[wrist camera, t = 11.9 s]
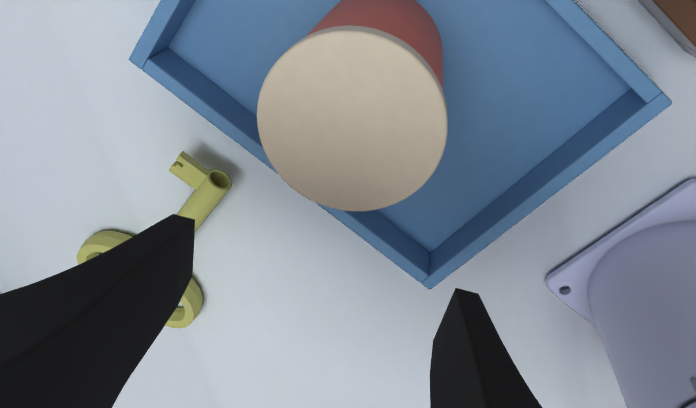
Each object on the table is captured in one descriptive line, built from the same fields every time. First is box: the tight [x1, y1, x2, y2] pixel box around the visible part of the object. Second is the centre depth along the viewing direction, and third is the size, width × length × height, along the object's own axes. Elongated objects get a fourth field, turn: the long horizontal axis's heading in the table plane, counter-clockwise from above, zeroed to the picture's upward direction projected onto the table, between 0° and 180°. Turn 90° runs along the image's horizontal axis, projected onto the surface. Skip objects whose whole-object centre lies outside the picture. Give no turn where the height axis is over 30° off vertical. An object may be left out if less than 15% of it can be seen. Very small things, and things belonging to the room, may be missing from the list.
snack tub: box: [257, 0, 448, 211], centre depth 17 cm, size 5×5×8 cm
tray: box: [129, 0, 672, 289], centre depth 20 cm, size 16×12×2 cm
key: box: [77, 151, 232, 328], centre depth 26 cm, size 7×12×2 cm, turn 160°
